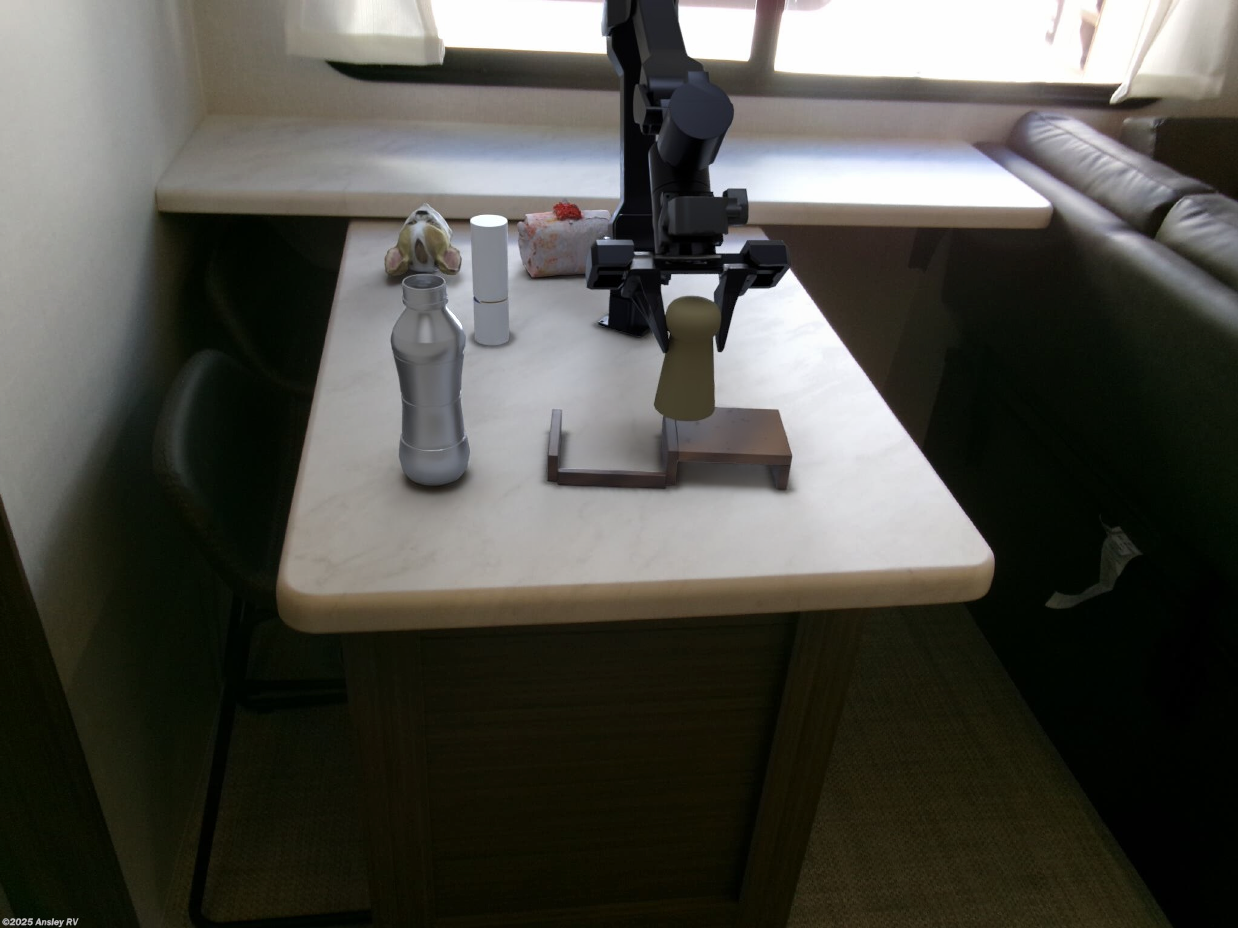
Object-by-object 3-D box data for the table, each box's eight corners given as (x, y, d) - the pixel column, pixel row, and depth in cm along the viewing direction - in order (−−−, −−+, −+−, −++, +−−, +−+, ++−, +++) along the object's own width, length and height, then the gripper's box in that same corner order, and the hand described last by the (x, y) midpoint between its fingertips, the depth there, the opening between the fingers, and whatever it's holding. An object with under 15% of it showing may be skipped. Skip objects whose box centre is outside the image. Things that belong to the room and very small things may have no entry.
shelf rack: (547, 484, 92) (547, 449, 90) (552, 433, 100) (552, 400, 98) (787, 492, 93) (793, 458, 91) (773, 441, 101) (778, 409, 99)
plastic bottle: (404, 457, 95) (387, 267, 84) (472, 457, 95) (465, 268, 84) (397, 494, 89) (378, 296, 78) (469, 494, 90) (461, 297, 79)
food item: (525, 282, 134) (524, 214, 129) (516, 261, 141) (515, 196, 135) (618, 277, 137) (621, 210, 132) (605, 257, 144) (608, 193, 139)
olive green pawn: (718, 422, 90) (731, 316, 84) (655, 420, 90) (663, 314, 84) (711, 391, 95) (724, 289, 89) (651, 389, 95) (660, 286, 89)
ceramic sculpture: (461, 192, 139) (458, 233, 127) (464, 248, 144) (462, 292, 132) (387, 192, 137) (377, 233, 125) (393, 248, 142) (384, 293, 130)
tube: (515, 335, 120) (514, 219, 111) (498, 348, 116) (495, 229, 108) (486, 328, 121) (482, 212, 113) (468, 340, 118) (463, 222, 110)
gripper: (593, 151, 82) (603, 323, 79) (801, 154, 84) (819, 320, 81) (581, 210, 93) (589, 363, 90) (766, 211, 95) (780, 360, 92)
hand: (693, 351), depth 88 cm, fingers closed on olive green pawn, 5 cm apart
